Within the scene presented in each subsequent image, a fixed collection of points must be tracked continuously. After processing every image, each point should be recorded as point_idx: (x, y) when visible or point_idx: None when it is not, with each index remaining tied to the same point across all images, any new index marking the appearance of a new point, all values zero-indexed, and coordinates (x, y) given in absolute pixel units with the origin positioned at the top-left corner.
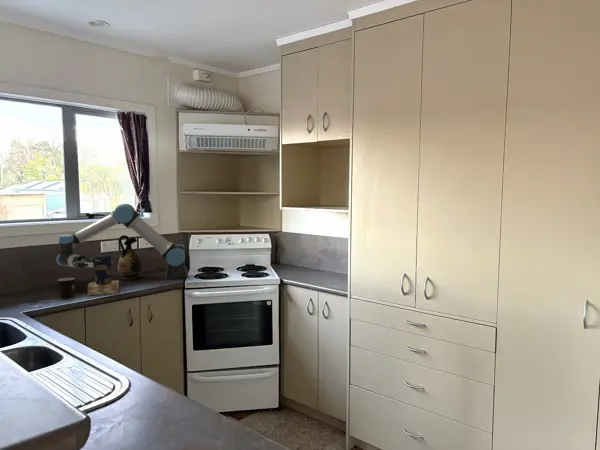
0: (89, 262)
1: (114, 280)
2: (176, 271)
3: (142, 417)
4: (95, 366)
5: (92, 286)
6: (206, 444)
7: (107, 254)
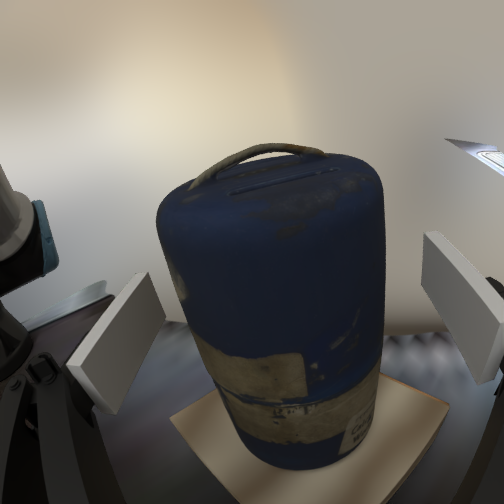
0: (452, 263)
1: (184, 434)
2: (15, 322)
3: (478, 146)
4: (495, 162)
5: (421, 394)
6: (461, 140)
7: (181, 186)
